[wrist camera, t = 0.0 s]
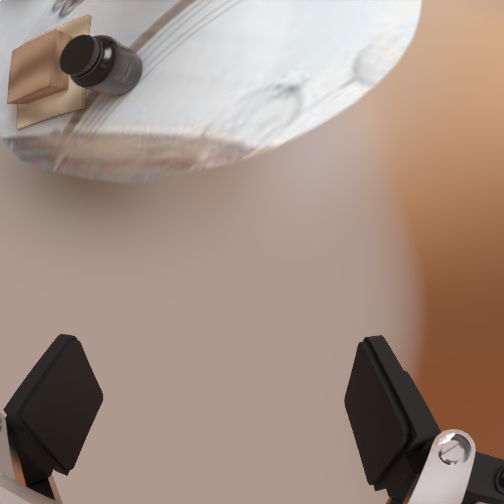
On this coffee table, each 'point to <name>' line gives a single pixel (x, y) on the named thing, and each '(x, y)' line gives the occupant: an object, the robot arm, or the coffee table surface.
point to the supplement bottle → (101, 64)
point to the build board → (62, 100)
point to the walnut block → (38, 69)
